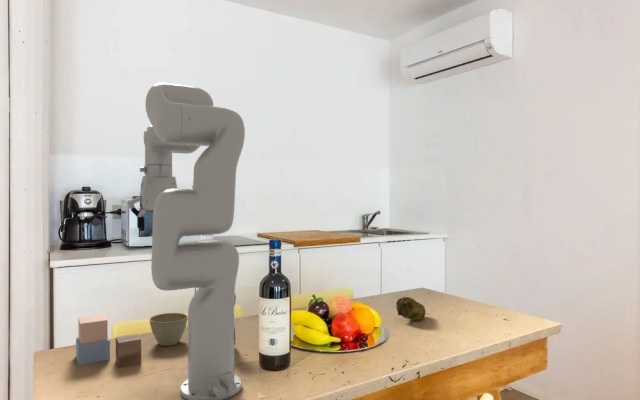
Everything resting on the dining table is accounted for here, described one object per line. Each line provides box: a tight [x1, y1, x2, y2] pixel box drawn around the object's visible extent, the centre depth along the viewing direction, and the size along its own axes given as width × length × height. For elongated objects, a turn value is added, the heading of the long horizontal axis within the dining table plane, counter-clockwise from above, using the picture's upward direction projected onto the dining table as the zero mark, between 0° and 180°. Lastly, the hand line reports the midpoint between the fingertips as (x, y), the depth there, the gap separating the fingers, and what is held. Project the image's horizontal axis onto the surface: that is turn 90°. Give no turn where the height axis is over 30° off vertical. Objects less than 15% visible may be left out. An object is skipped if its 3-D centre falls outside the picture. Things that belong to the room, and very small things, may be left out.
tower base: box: [75, 336, 111, 366], centre depth 113 cm, size 7×7×5 cm
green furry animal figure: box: [395, 296, 426, 322], centre depth 147 cm, size 8×13×8 cm, turn 119°
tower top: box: [77, 314, 109, 344], centre depth 113 cm, size 6×6×5 cm
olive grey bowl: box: [149, 312, 188, 347], centre depth 124 cm, size 10×10×7 cm
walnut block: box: [115, 333, 142, 368], centre depth 110 cm, size 5×5×6 cm
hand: (158, 230), depth 131 cm, fingers open, 9 cm apart
